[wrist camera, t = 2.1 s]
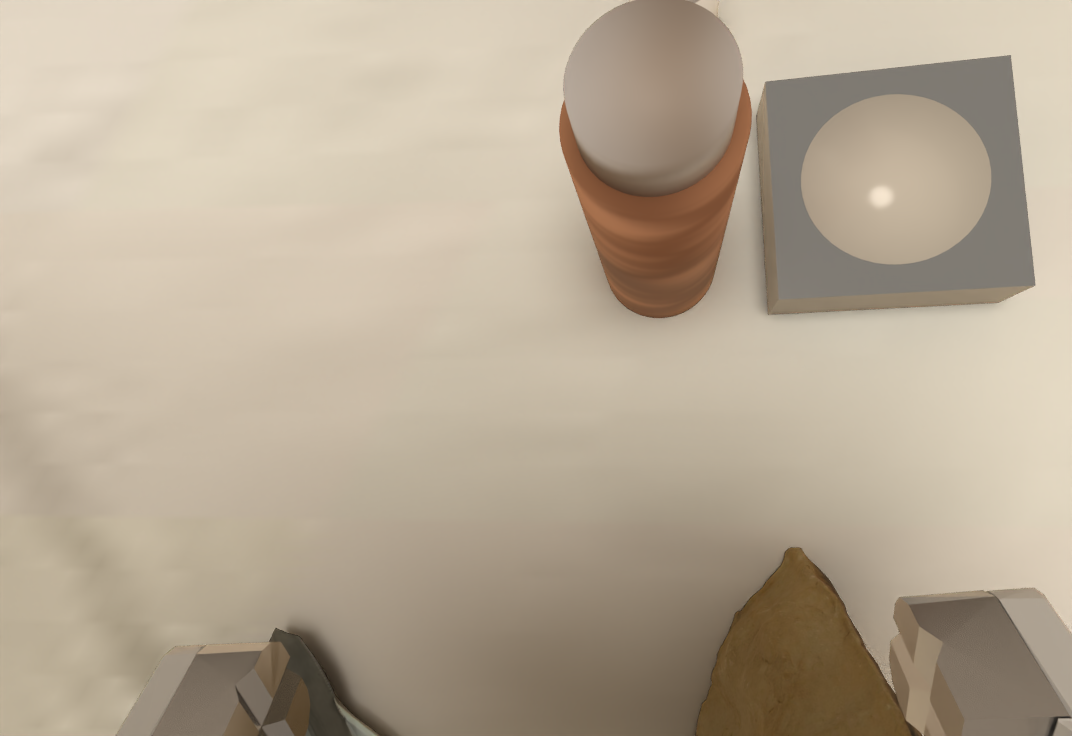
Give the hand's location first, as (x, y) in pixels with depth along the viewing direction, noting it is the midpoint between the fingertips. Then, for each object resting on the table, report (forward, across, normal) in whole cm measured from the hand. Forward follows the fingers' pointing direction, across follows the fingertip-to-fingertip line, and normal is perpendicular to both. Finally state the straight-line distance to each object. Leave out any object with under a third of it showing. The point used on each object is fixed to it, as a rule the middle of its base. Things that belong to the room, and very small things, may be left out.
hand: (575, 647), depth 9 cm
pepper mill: (+24, +3, -5) cm, 24 cm away
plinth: (+24, +12, -4) cm, 27 cm away
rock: (+12, +4, -19) cm, 23 cm away
